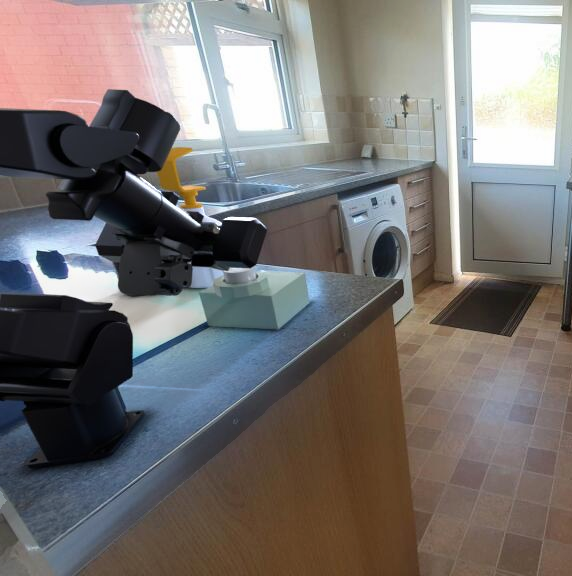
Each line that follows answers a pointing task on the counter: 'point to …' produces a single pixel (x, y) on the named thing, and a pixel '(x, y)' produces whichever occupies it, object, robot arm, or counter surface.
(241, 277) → the flush button
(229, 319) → the push button box
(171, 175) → the soap bottle
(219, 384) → the counter surface
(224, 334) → the counter surface
